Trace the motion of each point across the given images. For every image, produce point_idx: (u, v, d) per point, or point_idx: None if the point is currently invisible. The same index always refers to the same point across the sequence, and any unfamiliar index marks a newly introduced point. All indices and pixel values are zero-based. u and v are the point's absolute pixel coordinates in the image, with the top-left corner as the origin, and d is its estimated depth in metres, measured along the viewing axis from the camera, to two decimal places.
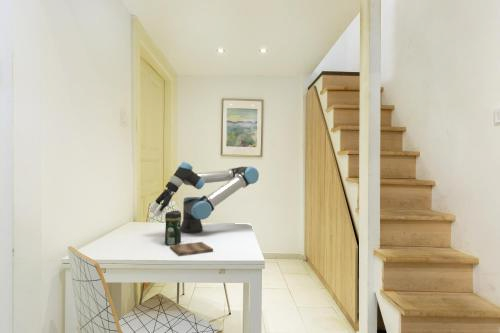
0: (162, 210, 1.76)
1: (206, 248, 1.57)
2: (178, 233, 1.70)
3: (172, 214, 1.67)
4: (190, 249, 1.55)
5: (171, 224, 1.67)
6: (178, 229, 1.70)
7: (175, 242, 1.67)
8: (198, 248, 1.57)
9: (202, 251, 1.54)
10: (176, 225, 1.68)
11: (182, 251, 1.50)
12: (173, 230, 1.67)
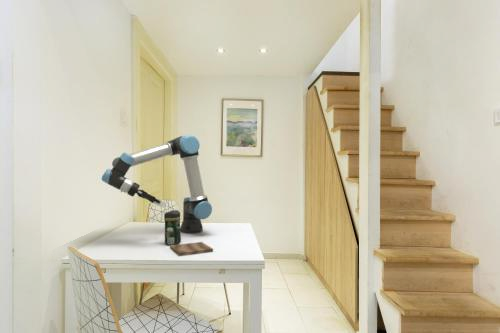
0: (159, 200, 1.67)
1: (206, 248, 1.57)
2: (178, 233, 1.70)
3: (171, 214, 1.67)
4: (190, 249, 1.55)
5: (170, 223, 1.67)
6: (177, 229, 1.70)
7: (175, 242, 1.67)
8: (198, 248, 1.57)
9: (202, 251, 1.54)
10: (175, 225, 1.68)
11: (182, 251, 1.50)
12: (173, 230, 1.67)
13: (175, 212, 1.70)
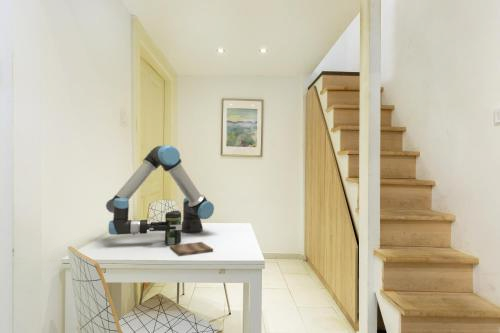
0: (174, 225, 1.67)
1: (206, 248, 1.57)
2: (178, 233, 1.70)
3: (172, 214, 1.67)
4: (190, 249, 1.55)
5: (171, 223, 1.67)
6: None
7: (175, 242, 1.67)
8: (198, 248, 1.57)
9: (202, 251, 1.54)
10: None
11: (182, 251, 1.50)
12: (173, 230, 1.67)
13: (176, 212, 1.70)
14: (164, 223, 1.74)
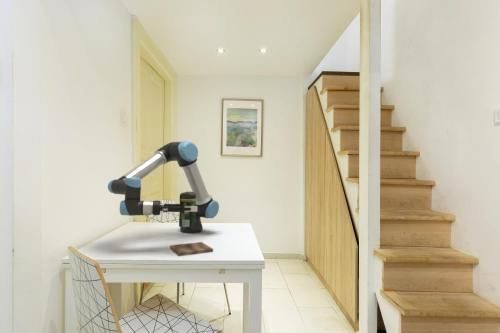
0: (189, 206, 1.56)
1: (206, 248, 1.57)
2: (193, 215, 1.59)
3: (187, 194, 1.56)
4: (190, 249, 1.55)
5: (185, 205, 1.56)
6: None
7: (190, 224, 1.57)
8: (198, 248, 1.57)
9: (202, 251, 1.54)
10: None
11: (182, 251, 1.50)
12: (188, 212, 1.56)
13: (191, 193, 1.59)
14: (178, 205, 1.63)
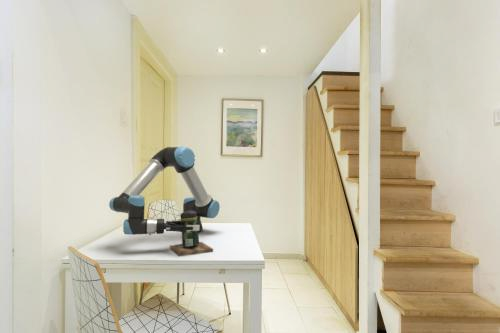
0: (191, 225, 1.52)
1: (206, 248, 1.57)
2: (196, 234, 1.59)
3: (188, 213, 1.57)
4: (190, 249, 1.55)
5: (187, 224, 1.56)
6: None
7: (193, 243, 1.56)
8: (198, 248, 1.57)
9: (202, 251, 1.54)
10: None
11: (182, 251, 1.50)
12: (190, 231, 1.56)
13: (192, 212, 1.60)
14: (180, 222, 1.63)
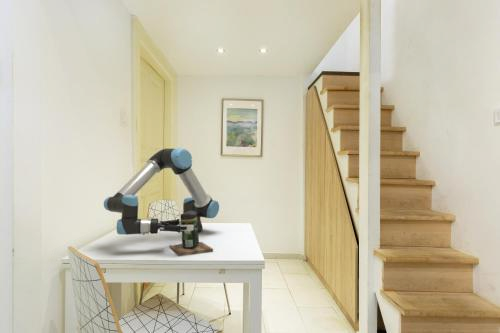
0: (185, 225, 1.51)
1: (206, 248, 1.57)
2: (196, 234, 1.58)
3: (188, 215, 1.55)
4: (190, 249, 1.55)
5: None
6: (195, 230, 1.58)
7: (193, 244, 1.56)
8: (198, 248, 1.57)
9: (202, 251, 1.54)
10: None
11: (182, 251, 1.50)
12: (190, 232, 1.56)
13: (192, 213, 1.58)
14: (174, 222, 1.62)
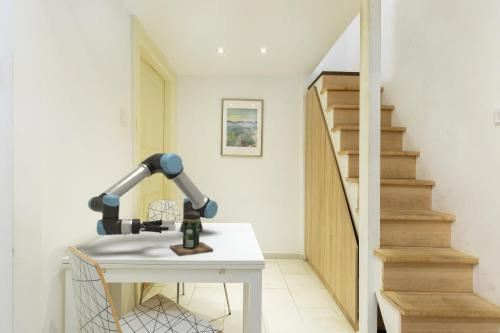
0: (166, 226, 1.49)
1: (206, 248, 1.57)
2: (197, 235, 1.59)
3: (191, 215, 1.56)
4: (190, 249, 1.55)
5: (190, 225, 1.56)
6: (197, 231, 1.58)
7: (194, 245, 1.56)
8: (198, 248, 1.57)
9: (202, 251, 1.54)
10: (195, 227, 1.57)
11: (182, 251, 1.50)
12: (192, 232, 1.56)
13: (196, 213, 1.59)
14: (157, 222, 1.60)
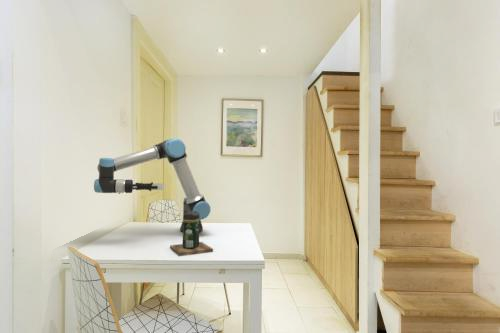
0: (156, 185, 1.68)
1: (206, 248, 1.57)
2: (197, 235, 1.59)
3: (191, 215, 1.56)
4: (190, 249, 1.55)
5: (189, 225, 1.56)
6: (197, 231, 1.58)
7: (194, 245, 1.56)
8: (198, 248, 1.57)
9: (202, 251, 1.54)
10: (195, 227, 1.57)
11: (182, 251, 1.50)
12: (192, 233, 1.56)
13: (195, 213, 1.59)
14: (148, 184, 1.79)
